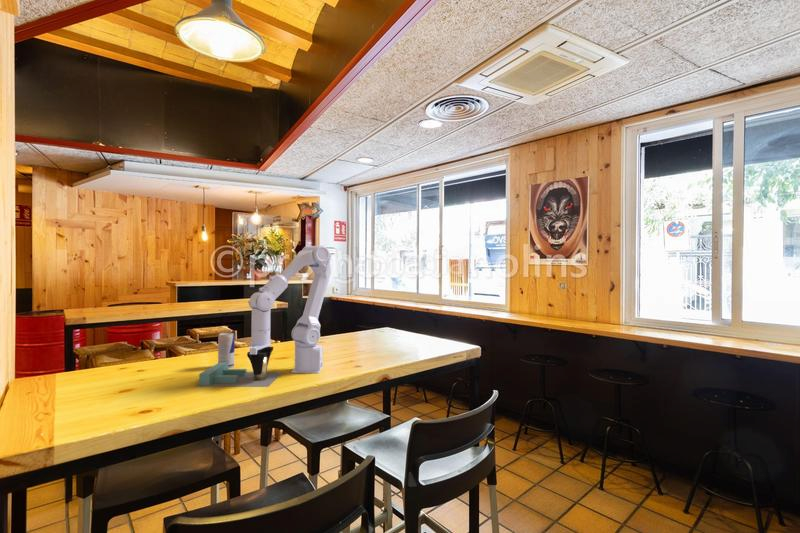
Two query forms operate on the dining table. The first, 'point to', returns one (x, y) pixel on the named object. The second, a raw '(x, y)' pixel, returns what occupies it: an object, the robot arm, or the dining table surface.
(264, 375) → the brass tube
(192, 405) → the dining table surface
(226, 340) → the energy drink
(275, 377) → the mat
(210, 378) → the socket dock
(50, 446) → the dining table surface
